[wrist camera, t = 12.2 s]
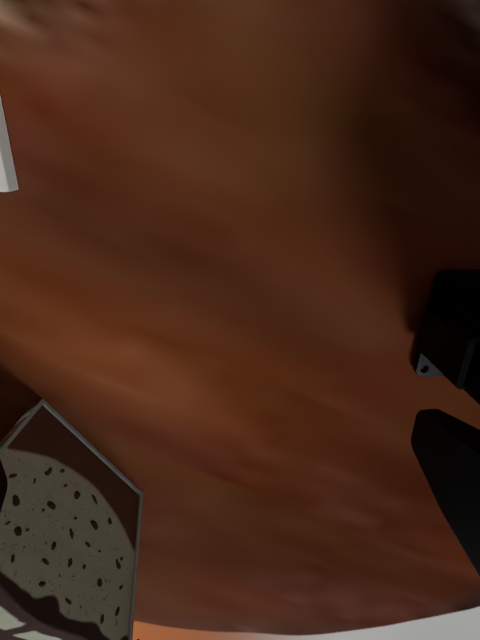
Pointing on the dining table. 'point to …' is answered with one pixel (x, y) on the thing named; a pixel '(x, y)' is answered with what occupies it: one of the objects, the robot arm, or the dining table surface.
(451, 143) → the dining table surface
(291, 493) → the dining table surface
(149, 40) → the dining table surface
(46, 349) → the dining table surface
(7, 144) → the pad
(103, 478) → the food container
